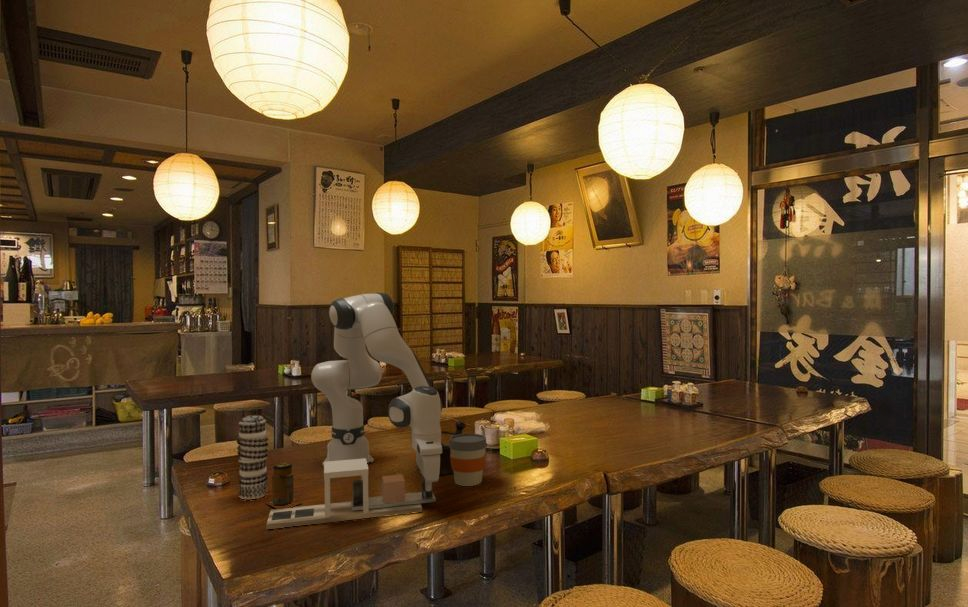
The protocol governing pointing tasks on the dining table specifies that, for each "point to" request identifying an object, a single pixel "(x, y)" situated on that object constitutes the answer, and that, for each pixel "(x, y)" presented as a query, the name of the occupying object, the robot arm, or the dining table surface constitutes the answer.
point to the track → (337, 513)
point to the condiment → (282, 484)
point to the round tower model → (252, 457)
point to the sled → (390, 494)
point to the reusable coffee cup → (468, 458)
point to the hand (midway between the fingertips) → (427, 487)
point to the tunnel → (345, 470)
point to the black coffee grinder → (448, 450)
